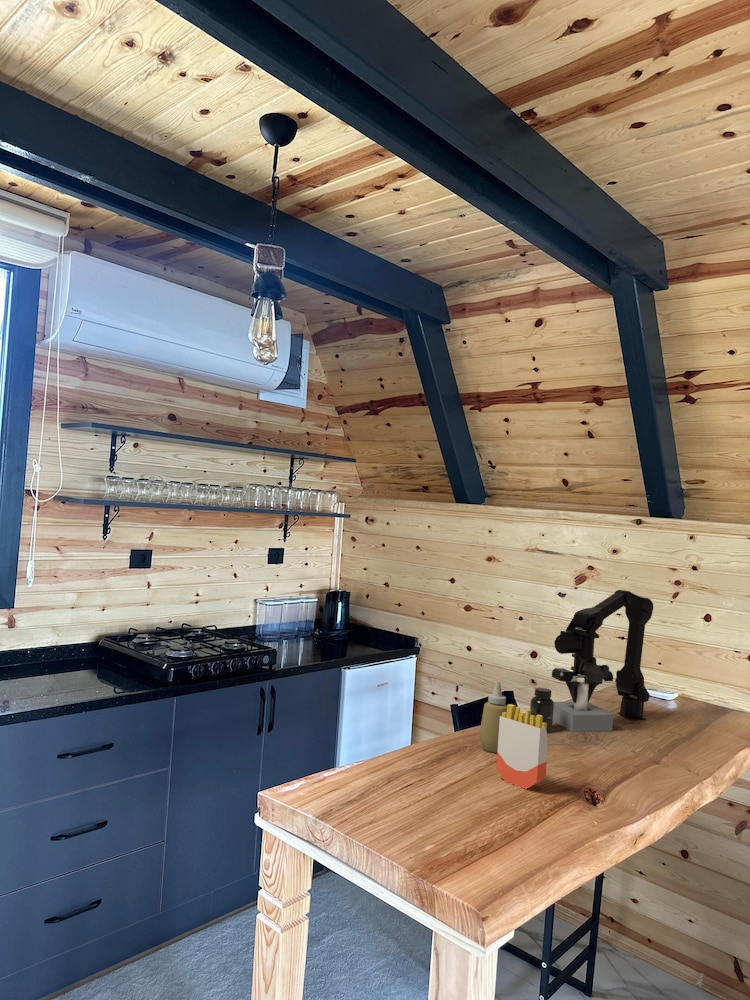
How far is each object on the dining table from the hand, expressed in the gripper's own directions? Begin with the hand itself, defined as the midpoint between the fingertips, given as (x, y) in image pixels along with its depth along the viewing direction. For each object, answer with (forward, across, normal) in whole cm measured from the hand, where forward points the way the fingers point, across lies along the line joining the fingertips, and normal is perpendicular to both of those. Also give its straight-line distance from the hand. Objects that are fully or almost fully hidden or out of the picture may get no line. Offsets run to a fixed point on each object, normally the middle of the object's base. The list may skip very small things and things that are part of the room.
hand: (580, 702), depth 212 cm
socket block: (+7, 0, 0) cm, 7 cm away
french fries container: (+7, -43, -41) cm, 60 cm away
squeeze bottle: (+7, -39, -19) cm, 44 cm away
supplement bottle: (+7, -16, -4) cm, 18 cm away
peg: (+4, 0, 0) cm, 4 cm away
